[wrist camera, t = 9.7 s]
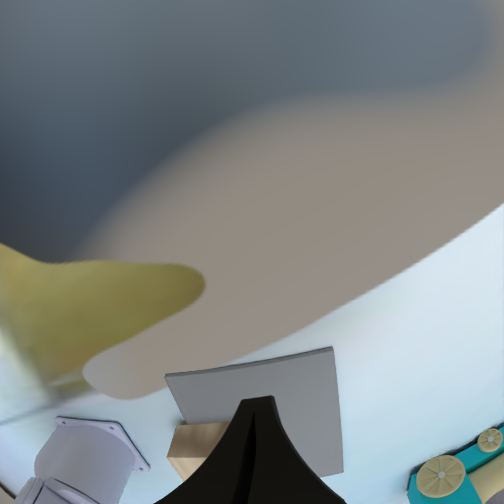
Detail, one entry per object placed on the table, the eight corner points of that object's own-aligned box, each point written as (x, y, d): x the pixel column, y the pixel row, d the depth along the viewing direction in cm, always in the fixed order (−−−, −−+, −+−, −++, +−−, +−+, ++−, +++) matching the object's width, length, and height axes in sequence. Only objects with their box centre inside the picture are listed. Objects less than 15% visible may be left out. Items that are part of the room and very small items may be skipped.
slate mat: (224, 485, 26) (224, 488, 25) (166, 373, 22) (164, 377, 21) (342, 469, 24) (343, 472, 24) (332, 346, 21) (333, 350, 20)
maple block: (270, 445, 23) (192, 451, 24) (260, 418, 22) (177, 425, 23) (270, 479, 19) (184, 482, 20) (260, 453, 18) (166, 457, 19)
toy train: (497, 444, 25) (537, 505, 11) (404, 492, 27) (431, 570, 12) (511, 412, 24) (561, 477, 9) (410, 467, 25) (445, 558, 10)
